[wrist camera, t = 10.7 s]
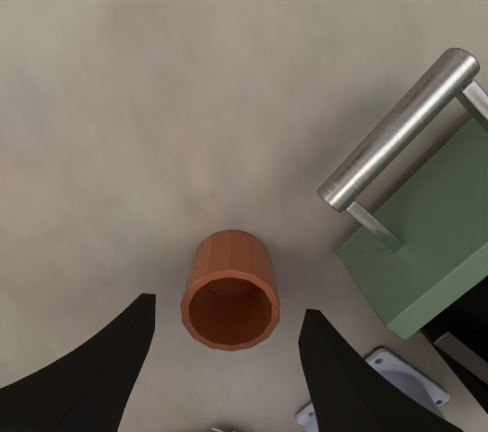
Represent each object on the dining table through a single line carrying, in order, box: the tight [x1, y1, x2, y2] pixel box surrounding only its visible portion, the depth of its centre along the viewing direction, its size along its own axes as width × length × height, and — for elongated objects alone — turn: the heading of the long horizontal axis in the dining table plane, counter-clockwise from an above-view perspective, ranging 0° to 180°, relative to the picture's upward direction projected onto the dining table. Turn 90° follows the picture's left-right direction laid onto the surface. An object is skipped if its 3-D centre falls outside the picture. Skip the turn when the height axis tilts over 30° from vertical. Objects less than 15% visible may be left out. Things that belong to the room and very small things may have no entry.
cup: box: [180, 230, 280, 351], centre depth 16 cm, size 5×5×5 cm
